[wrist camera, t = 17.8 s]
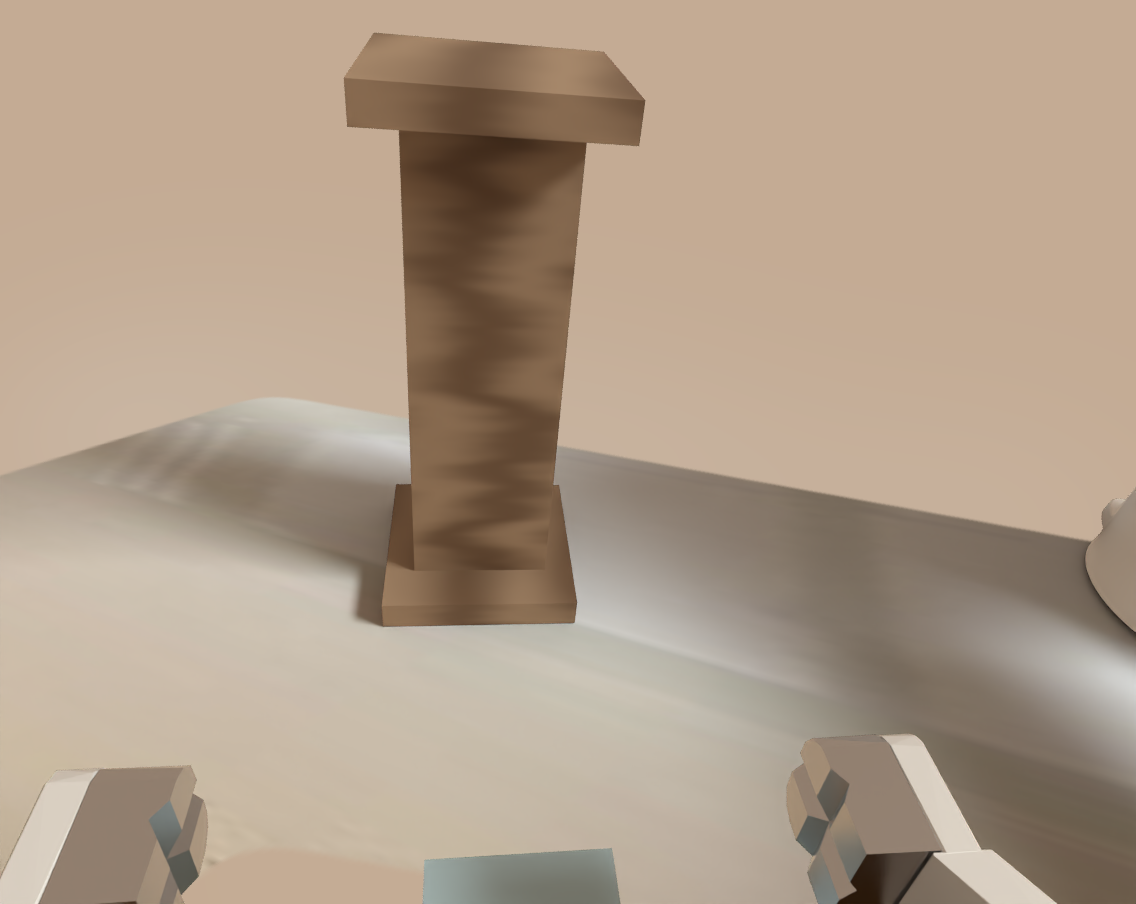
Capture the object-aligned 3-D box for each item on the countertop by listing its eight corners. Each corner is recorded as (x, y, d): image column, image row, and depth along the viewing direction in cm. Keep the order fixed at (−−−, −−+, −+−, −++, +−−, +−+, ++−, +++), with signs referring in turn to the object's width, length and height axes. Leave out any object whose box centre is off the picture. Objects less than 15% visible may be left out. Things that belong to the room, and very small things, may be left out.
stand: (557, 503, 50) (603, 51, 35) (574, 622, 41) (645, 100, 26) (397, 503, 48) (373, 32, 33) (383, 626, 40) (343, 77, 25)
